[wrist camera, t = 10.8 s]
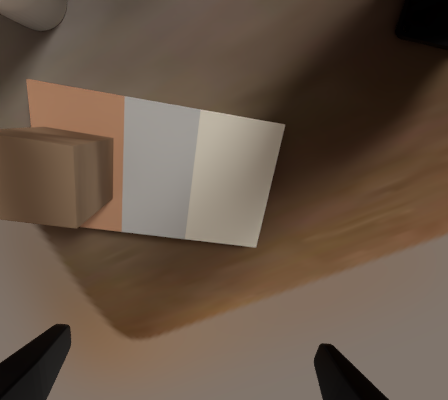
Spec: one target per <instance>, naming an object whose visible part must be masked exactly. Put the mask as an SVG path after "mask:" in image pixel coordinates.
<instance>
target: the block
mask: <svg viewBox="0 0 448 400" xmlns="http://www.w3.org/2000/svg"><path fill="white" fill-rule="evenodd" d="M113 143H114V138H111V137H105V136H99V135H92V134H86V133H80V132H74V131H68V130H61V129H55V128H49V127H29V128H11V129H0V219H1V220H9V221H18V222H26V223H34V224H43V225H51V226H59V227H68V228H76V229H77V228H78V227H79V226H80V225H82V224H83V223H84V222H85V221H86V220H88V219H89V218H90V217H91V216H93V215H94V214H95V213H96V212H97V211H99V210H100V209H101V208H102V207H103V206H105V205H106V204H107V203H108V202H109V201H111V200H112V199H113Z"/></svg>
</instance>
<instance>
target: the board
mask: <svg viewBox="0 0 448 400" xmlns="http://www.w3.org/2000/svg"><path fill="white" fill-rule="evenodd" d="M26 80H27V90H28V100H29V110H30V120H31V127H49V128H55V129H61V130H68V131H74V132H80V133H86V134H92V135H99V136H105V137H111V138H114V143H113V199H112V200H111V201H109V202H108V203H107V204H106V205H105V206H103V207H102V208H101V209H100V210H99V211H97V212H96V213H95V214H94V215H93V216H91V217H90V218H89V219H88V220H86V221H85V222H84V223H83V224H82V225H80V226H79V227H85V228H93V229H102V230H110V231H119V232H128V233H136V234H145V235H153V236H162V237H170V238H179V239H188V240H196V241H205V242H213V243H222V244H230V245H239V246H247V247H256V246H257V242H258V238H259V233H260V229H261V225H262V221H263V217H264V212H265V208H266V204H267V200H268V196H269V191H270V187H271V183H272V179H273V175H274V170H275V166H276V162H277V158H278V154H279V149H280V145H281V141H282V137H283V132H284V128H285V124H280V123H274V122H268V121H263V120H257V119H251V118H246V117H240V116H234V115H229V114H223V113H217V112H211V111H206V110H200V109H194V108H189V107H183V106H177V105H172V104H166V103H160V102H155V101H149V100H143V99H138V98H132V97H126V96H121V95H115V94H109V93H104V92H98V91H92V90H87V89H81V88H75V87H70V86H64V85H58V84H53V83H47V82H41V81H35V80H30V79H26Z"/></svg>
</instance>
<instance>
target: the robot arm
mask: <svg viewBox="0 0 448 400" xmlns="http://www.w3.org/2000/svg"><path fill="white" fill-rule="evenodd" d="M404 26H406V32H404V30H403V28H404ZM395 34H396V36H397V37H398V38H400V39H404V40H409V41H413V42H417V43H422V44H426V45H431V46H435V47H439V48H444V49H448V0H405V3H404V6H403V9H402V12H401V15H400V18H399V20H398V23H397V26H396V30H395ZM70 346H71V332H70V326H69V325H66V324H56V325H54V326H52V327H51V328H49V329H48V330H46V331H45V332H44V333H42V334H41V335H39V336H38V337H37V338H35V339H34V340H32V341H31V342H30V343H28V344H27V345H25V346H24V347H22V348H21V349H19V350H18V351H17V352H15V353H14V354H12V355H11V356H9V357H8V358H7V359H5V360H4V361H2V362H1V363H0V400H46V399H47V397H48V395H49V393H50V391H51V388H52V386H53V384H54V382H55V380H56V378H57V375H58V373H59V371H60V369H61V367H62V364H63V362H64V360H65V358H66V356H67V354H68V352H69V349H70ZM314 366H315V370H316V374H317V378H318V382H319V386H320V390H321V394H322V398H323V400H389V399H388V398H387V397H386V396H385V395H384V394H383V393H381V391H379V390H378V389H377V388H376V387H375V386H374V385H373V384H372V383H371V382H370V381H369V380H368V379H367V378H366V377H365V376H364V375H363V374H362V373H361V372H360V371H359V370H358V369H357V368H356V367H355V366H354V365H353V364H352V363H351V362H350V361H349V360H348V359H347V358H345V357H344V356H343V355H342V354H341V353H340V352H339V351H338V350H337V349H336V348H335V347H334V346H333V345H331V344H323V343H322V344H320V345H319V348H318V350H317V352H316V355H315V358H314Z"/></svg>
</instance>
